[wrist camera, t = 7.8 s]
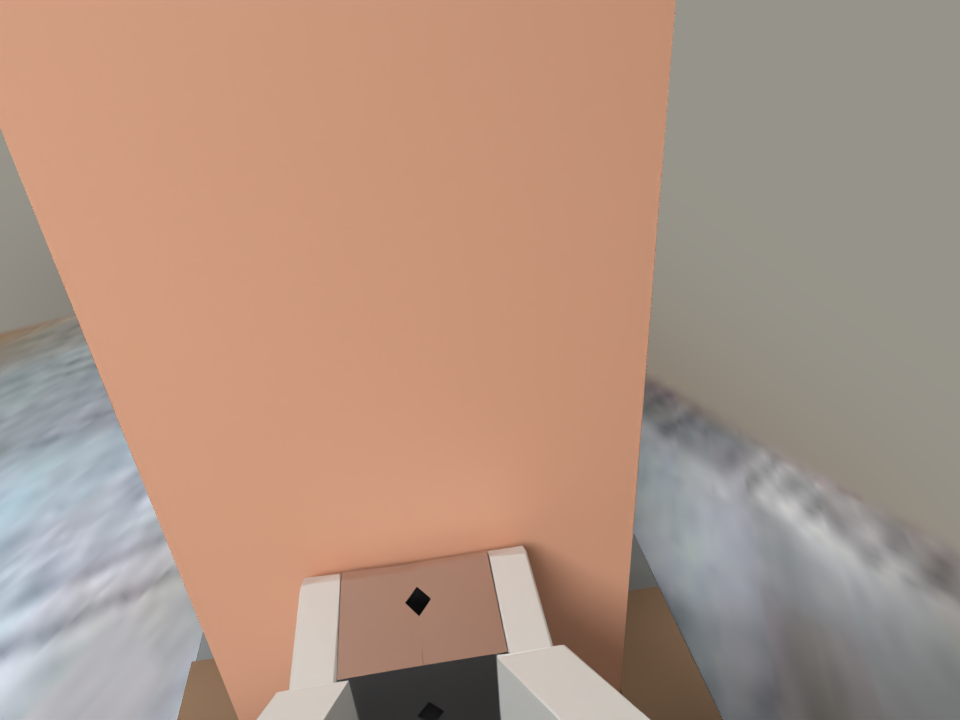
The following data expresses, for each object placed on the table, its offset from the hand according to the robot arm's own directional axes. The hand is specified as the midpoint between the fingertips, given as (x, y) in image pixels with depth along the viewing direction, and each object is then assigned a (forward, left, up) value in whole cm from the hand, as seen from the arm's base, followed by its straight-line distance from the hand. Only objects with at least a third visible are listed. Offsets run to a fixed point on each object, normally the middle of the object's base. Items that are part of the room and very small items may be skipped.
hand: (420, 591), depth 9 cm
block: (-2, +2, -8) cm, 8 cm away
